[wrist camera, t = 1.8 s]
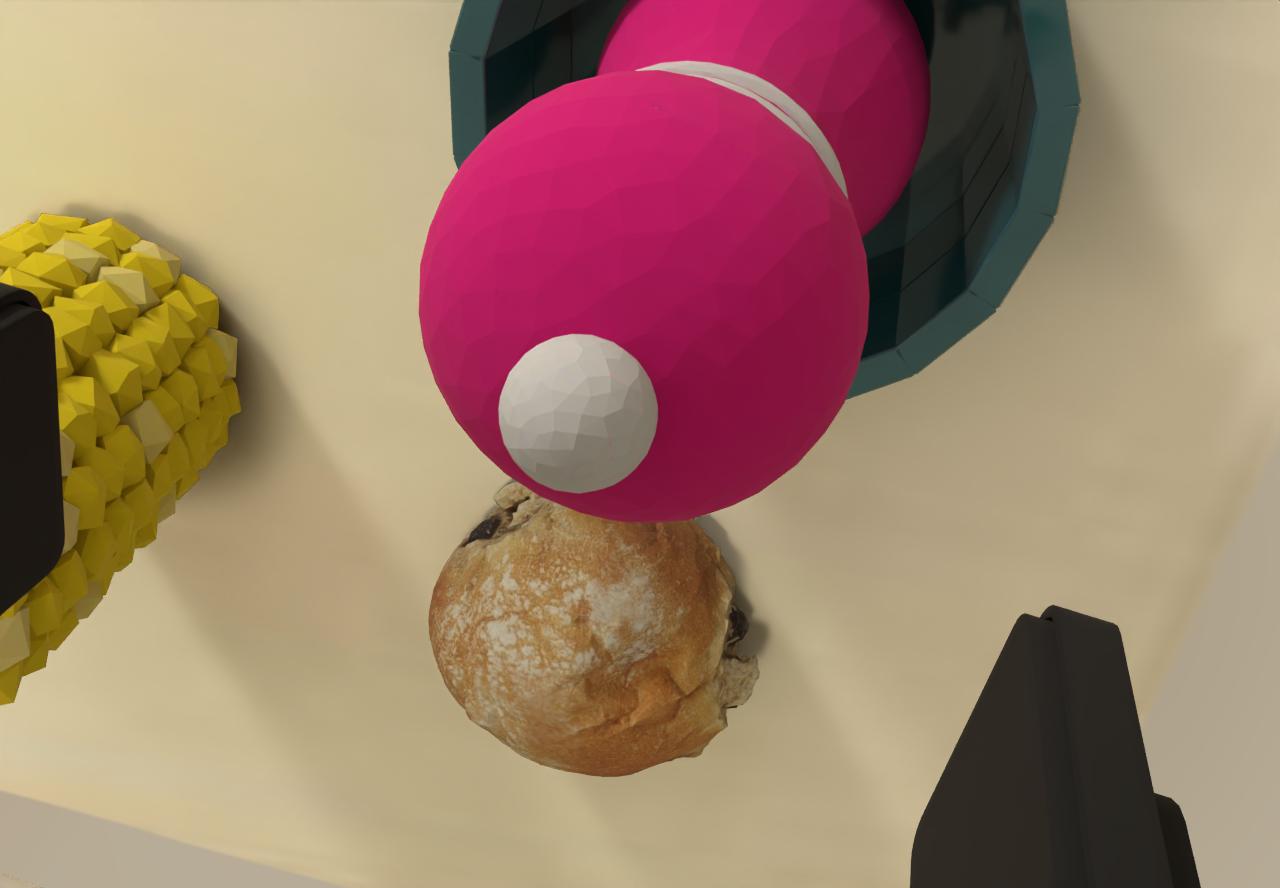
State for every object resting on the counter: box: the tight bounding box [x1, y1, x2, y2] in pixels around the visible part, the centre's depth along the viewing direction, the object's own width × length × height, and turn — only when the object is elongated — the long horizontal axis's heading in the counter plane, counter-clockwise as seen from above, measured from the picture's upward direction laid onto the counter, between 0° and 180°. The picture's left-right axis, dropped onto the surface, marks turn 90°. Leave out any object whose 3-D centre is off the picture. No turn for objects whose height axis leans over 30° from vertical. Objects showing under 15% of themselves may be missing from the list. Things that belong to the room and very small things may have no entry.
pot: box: [449, 0, 1081, 400], centre depth 27 cm, size 13×13×7 cm
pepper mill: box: [419, 0, 931, 523], centre depth 21 cm, size 7×7×20 cm
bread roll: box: [429, 481, 759, 777], centre depth 37 cm, size 10×10×8 cm
